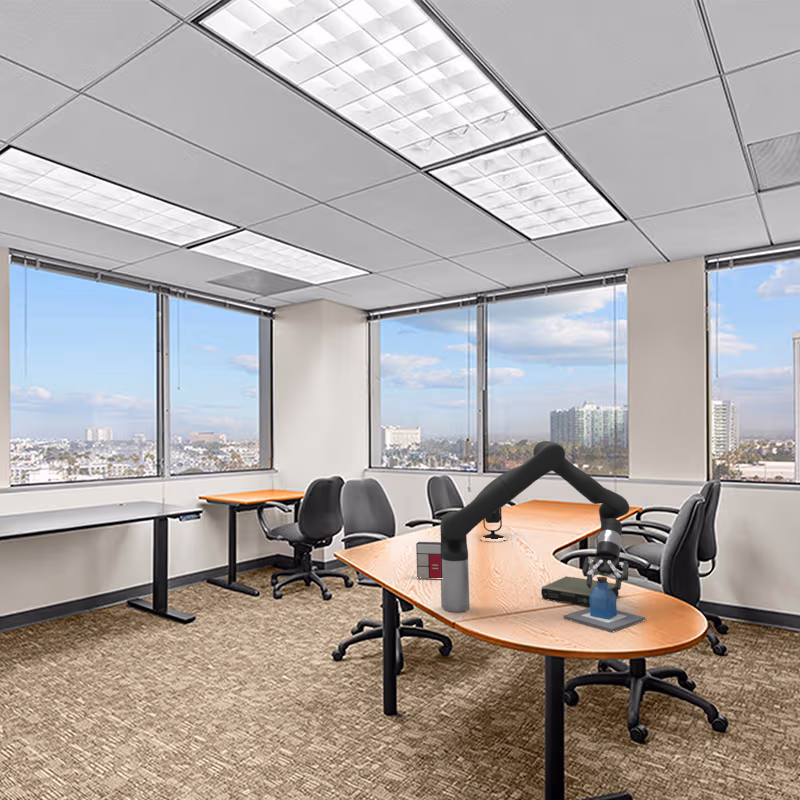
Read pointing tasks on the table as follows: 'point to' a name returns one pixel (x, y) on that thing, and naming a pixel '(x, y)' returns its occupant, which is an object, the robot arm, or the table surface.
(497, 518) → the microphone
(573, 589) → the network switch
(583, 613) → the mat
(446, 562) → the robot arm
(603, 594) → the perfume bottle
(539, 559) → the table surface
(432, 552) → the grey and red box
